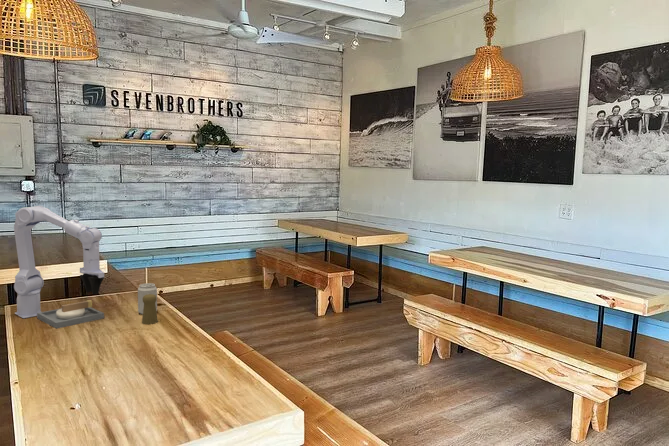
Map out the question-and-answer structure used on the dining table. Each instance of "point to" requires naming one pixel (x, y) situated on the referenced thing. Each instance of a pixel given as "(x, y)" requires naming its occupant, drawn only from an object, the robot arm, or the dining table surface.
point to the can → (145, 290)
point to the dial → (73, 310)
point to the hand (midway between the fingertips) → (92, 292)
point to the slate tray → (55, 322)
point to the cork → (149, 309)
